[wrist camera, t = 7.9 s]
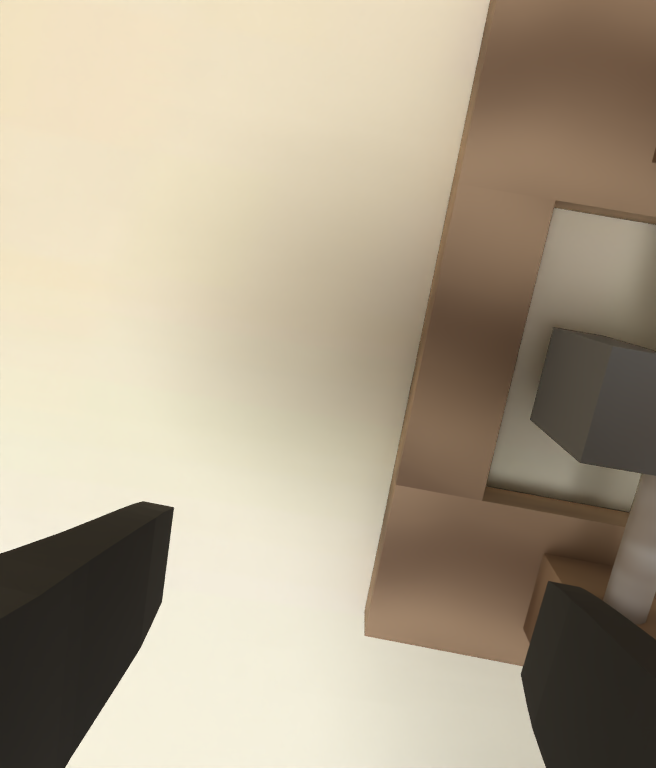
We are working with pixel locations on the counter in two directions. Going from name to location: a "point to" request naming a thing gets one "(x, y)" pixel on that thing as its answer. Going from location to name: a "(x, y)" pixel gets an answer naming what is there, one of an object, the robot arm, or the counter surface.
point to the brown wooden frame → (516, 337)
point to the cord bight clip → (599, 400)
